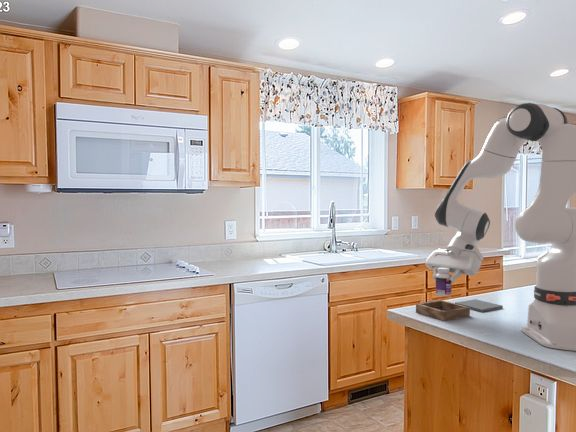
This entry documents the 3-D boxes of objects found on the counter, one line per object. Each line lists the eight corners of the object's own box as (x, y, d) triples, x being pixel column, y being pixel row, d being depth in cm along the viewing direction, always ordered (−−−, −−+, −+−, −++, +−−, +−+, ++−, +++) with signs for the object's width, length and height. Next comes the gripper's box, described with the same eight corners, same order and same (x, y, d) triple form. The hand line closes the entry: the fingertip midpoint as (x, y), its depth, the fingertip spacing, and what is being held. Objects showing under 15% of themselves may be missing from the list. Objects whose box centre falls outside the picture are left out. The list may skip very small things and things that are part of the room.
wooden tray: (469, 315, 154) (469, 307, 154) (444, 320, 148) (444, 312, 148) (440, 307, 166) (440, 299, 166) (415, 312, 160) (415, 303, 159)
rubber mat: (502, 308, 165) (502, 305, 165) (481, 312, 159) (481, 309, 159) (475, 301, 176) (475, 299, 176) (454, 305, 170) (454, 302, 170)
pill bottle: (448, 297, 152) (448, 269, 152) (433, 295, 156) (433, 268, 155) (453, 294, 157) (453, 267, 156) (438, 293, 160) (438, 266, 160)
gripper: (432, 243, 168) (415, 270, 163) (480, 247, 151) (463, 277, 146) (439, 254, 171) (422, 281, 166) (488, 259, 154) (471, 289, 149)
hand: (442, 279), depth 156 cm, fingers closed on pill bottle, 5 cm apart
